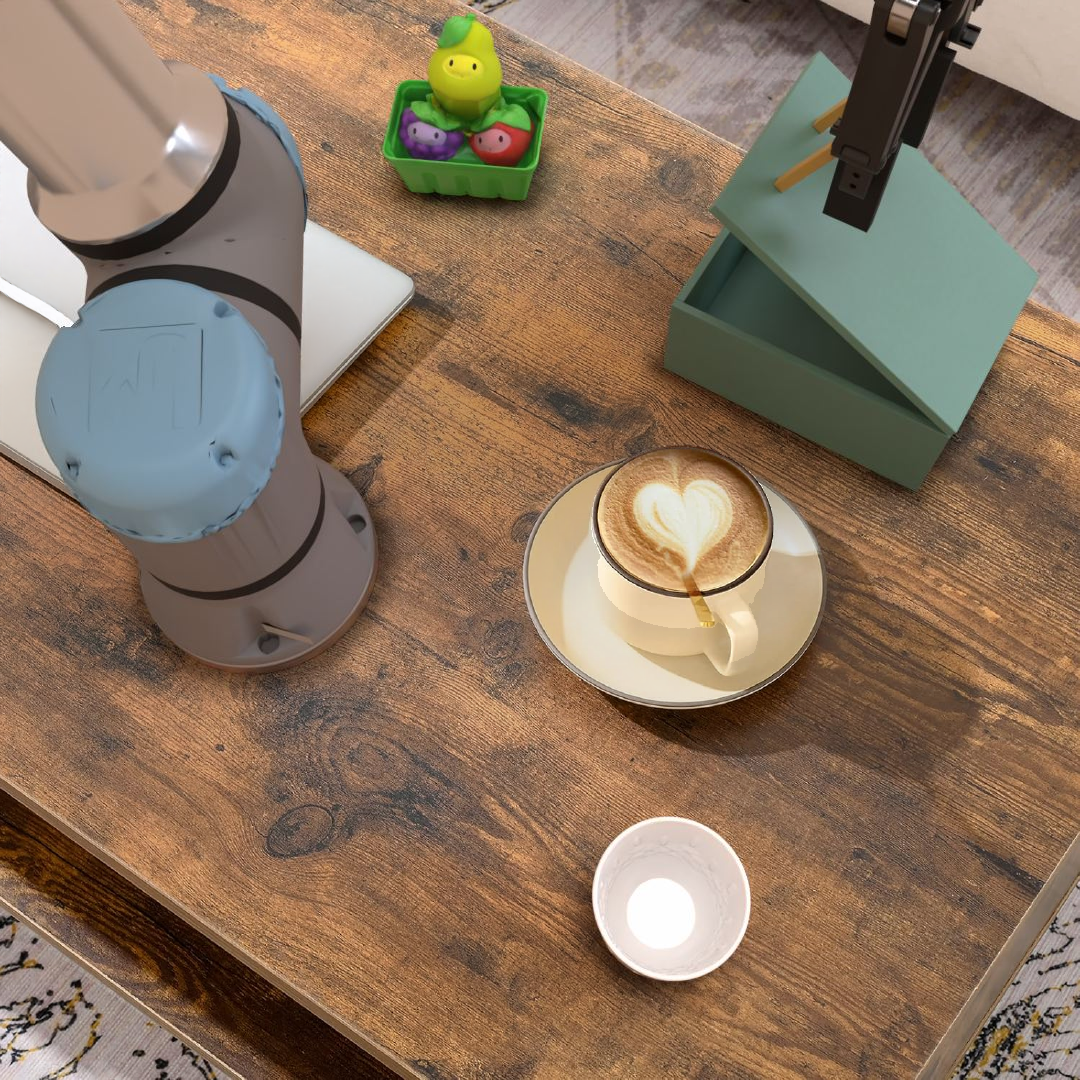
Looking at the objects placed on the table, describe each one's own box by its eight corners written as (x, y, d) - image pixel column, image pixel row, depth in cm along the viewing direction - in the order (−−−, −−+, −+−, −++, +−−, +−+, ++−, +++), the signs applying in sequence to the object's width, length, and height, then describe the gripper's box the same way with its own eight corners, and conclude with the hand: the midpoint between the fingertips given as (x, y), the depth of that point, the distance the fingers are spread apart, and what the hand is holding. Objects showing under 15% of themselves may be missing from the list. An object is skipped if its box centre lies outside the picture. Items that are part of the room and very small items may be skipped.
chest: (662, 367, 81) (670, 304, 74) (749, 235, 86) (764, 164, 79) (916, 492, 77) (949, 438, 70) (993, 346, 81) (1032, 281, 74)
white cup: (562, 902, 67) (560, 881, 58) (667, 818, 69) (680, 785, 60) (649, 1018, 65) (661, 1015, 56) (755, 928, 67) (783, 911, 57)
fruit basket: (390, 204, 88) (364, 93, 77) (410, 114, 91) (388, -4, 81) (538, 217, 87) (533, 106, 77) (553, 125, 90) (550, 7, 80)
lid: (707, 210, 65) (812, 137, 56) (811, 56, 69) (924, -35, 60) (947, 436, 70) (1077, 401, 61) (1030, 279, 74) (1163, 226, 66)
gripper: (1016, -48, 40) (862, 328, 61) (1198, -347, 46) (1001, 88, 67) (819, -122, 42) (735, 269, 63) (1020, -401, 48) (882, 41, 69)
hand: (873, 175), depth 65 cm, fingers closed on lid, 6 cm apart
